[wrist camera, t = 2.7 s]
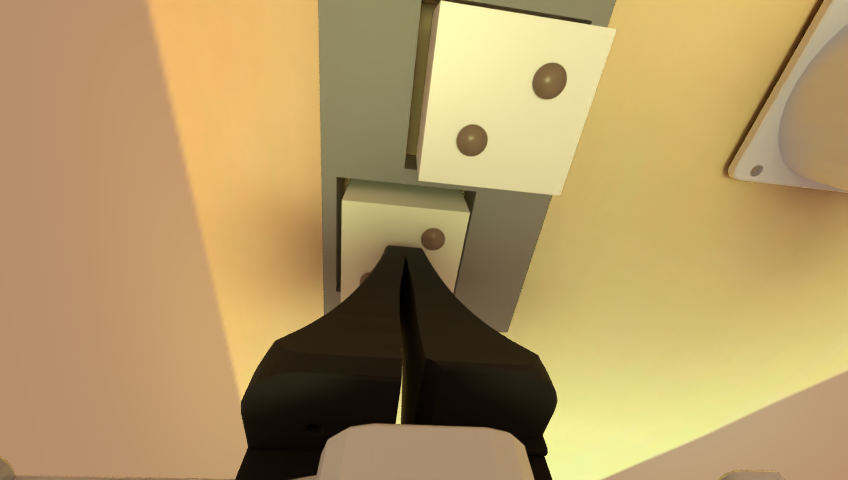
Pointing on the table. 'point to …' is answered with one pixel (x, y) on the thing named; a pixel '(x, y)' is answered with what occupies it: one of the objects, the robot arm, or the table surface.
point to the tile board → (387, 141)
